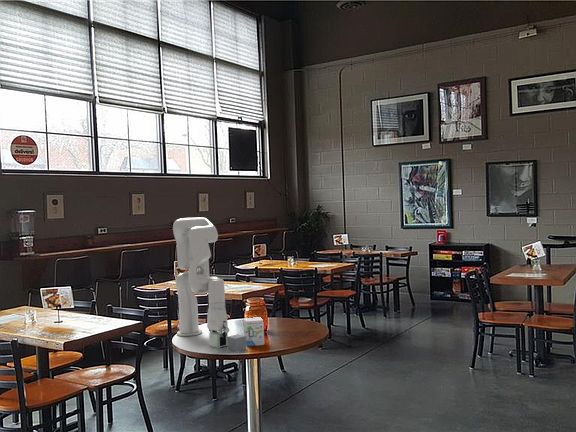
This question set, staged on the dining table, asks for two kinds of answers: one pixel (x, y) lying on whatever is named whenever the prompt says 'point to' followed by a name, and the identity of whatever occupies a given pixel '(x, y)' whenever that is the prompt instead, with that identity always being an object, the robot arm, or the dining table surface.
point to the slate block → (236, 343)
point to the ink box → (254, 331)
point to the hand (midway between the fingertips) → (218, 343)
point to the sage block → (216, 339)
